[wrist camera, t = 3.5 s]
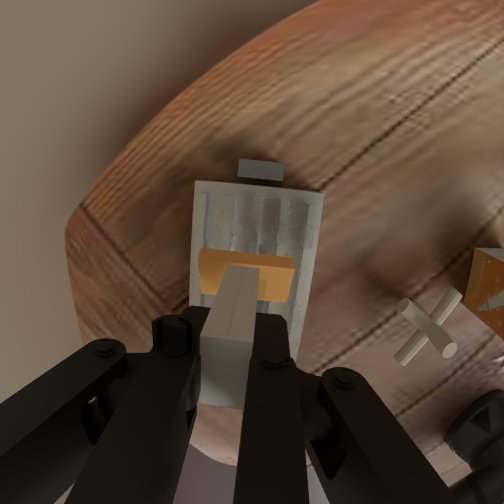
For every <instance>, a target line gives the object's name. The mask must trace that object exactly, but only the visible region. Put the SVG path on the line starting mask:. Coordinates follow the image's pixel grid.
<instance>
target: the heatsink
mask: <svg viewBox="0 0 504 504" xmlns="http://www.w3.org/2000/svg"><path fill="white" fill-rule="evenodd" d="M284 165H285V163H279V162H269V161H260V160H249V159H239V165H238V175H237V176H238V177H249V178H259V179H268V180H277V181H283V175H284ZM323 200H324V193H321V192H318V191H311V190H303V189H295V188H287V187H278V186H269V185H260V184H250V183H239V182H228V181H216V180H195V190H194V204H193V219H192V238H191V260H190V291H189V307H190V306H191V305H194V306H201V307H209V308H211V307H212V304H213V302H214V299H215V297H216V295H210V294H203V293H201V285H200V276H199V267H198V256H199V252H200V249H201V248H209V249H218V250H227V251H236V252H246V253H255V254H264V255H273V256H283V257H292V258H295V270H294V274H293V278H292V282H291V286H290V290H289V294H288V298H287V302H286V303H282V302H272V301H264V305H263V311H262V313H269V314H279V315H282V317H283V318H284V319H285V320H286V321H287V328H288V329H287V330H288V337H289V347H290V356H291V357H292V358H293V359H294V361H295V363H296V359H297V354H298V349H299V345H300V340H301V335H302V330H303V325H304V319H305V314H306V309H307V303H308V298H309V292H310V286H311V281H312V275H313V269H314V263H315V256H316V250H317V243H318V237H319V230H320V223H321V215H322V208H323Z"/></svg>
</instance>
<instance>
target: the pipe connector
mask: <svg viewBox="0 0 504 504" xmlns="http://www.w3.org/2000/svg"><path fill="white" fill-rule="evenodd" d="M462 297H463V296H462V295H461V294H460V293H459V292H458V291H457V290H456V289H455V288H454V287H451V288H450V289H449V291H448V292H447V293H446V295H445V296H444V297H443V299H442V300H441V301H440V303H439V304H438V305H437V306H436V308H435V309H434V310H433V311H432V313H431V314H430V315H428V314H427V312H426V311H425V310H424V309H423V308H422V307H421V306H420V305H419V304H418V303H417V302H414V301H411V300H410V299H408V298H403V299H402V300H401V301H400V302H399V303H398V305H397V308H396V310H397V313H399V314H400V315H401V316H403V317H404V318H405V319H406V320H408V321H409V322H410V323H412V324H413V325H414V326H415V327H417V328H418V330H417V331H416V332H415V333H414V334H413V336H412V337H411V338H410V339H409V340H408V341H407V342H406V343H405V345H404V346H403V347H402V348H401V349H400V350H399V351H398V352H397V353H396V354H395V355H394V357H395V358H396V360H397V361H398V362H399V363H400V364H401V365H403V366H405V365H406V364H407V363H408V362H409V361H410V360H411V359H412V358H413V356H414V355H415V354H416V353H417V352H418V351H419V350H420V349H421V348H422V346H423V345H424V344H425V343H426V342H427V341H428V340H430V341H431V342H432V344H433V345H434V346H435V347H436V348H437V350H438V351H439V352H440V353H441V355H442V356H443V357H444V358H449V357H451V356H453V355H454V353H455V352H456V350H457V344H456V339H455V338H454V337H452V336H451V335H450V334H449V333H448V332H447V331H446V330H445V329H443V328H442V327H441V326H440V325H441V324H442V323H443V322H444V320H445V319H446V318H447V317H448V315H449V314H450V313H451V311H452V310H453V309H454V308H455V306H456V305H457V304H458V302H459V301H460V300H461V298H462Z"/></svg>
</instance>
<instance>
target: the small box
mask: <svg viewBox="0 0 504 504" xmlns="http://www.w3.org/2000/svg"><path fill="white" fill-rule="evenodd" d="M463 305H464V306H465V307H466V308H468V309H469V310H470V311H471V312H472V313H473V314H475V315H476V316H477V317H478V318H479V319H480V320H481V321H483V322H484V323H485V324H486V325H487V326H488V327H490V328H491V329H492V330H493V331H494V332H495V333H496V334H497V335H498V336H500V337H501V338H502V339H503V340H504V249H502V248H476V247H475V248H474V252H473V260H472V265H471V271H470V276H469V281H468V285H467V289H466V294H465V298H464V301H463Z"/></svg>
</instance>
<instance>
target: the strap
mask: <svg viewBox="0 0 504 504" xmlns="http://www.w3.org/2000/svg"><path fill="white" fill-rule="evenodd" d="M228 265H235V266H244V267H254V268H260V271H259V282H258V294H257V305H256V312H259V313H262V311H263V305H264V301H272V302H282V303H286V302H287V298H288V294H289V290H290V286H291V282H292V278H293V274H294V270H295V258H292V257H283V256H273V255H264V254H255V253H246V252H236V251H227V250H218V249H209V248H201V249H200V252H199V256H198V267H199V276H200V285H201V293H203V294H210V295H216V294H217V292H218V289H219V287H220V284H221V282H222V280H223V277H224V275H225V272H226V270H227V267H228Z"/></svg>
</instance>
